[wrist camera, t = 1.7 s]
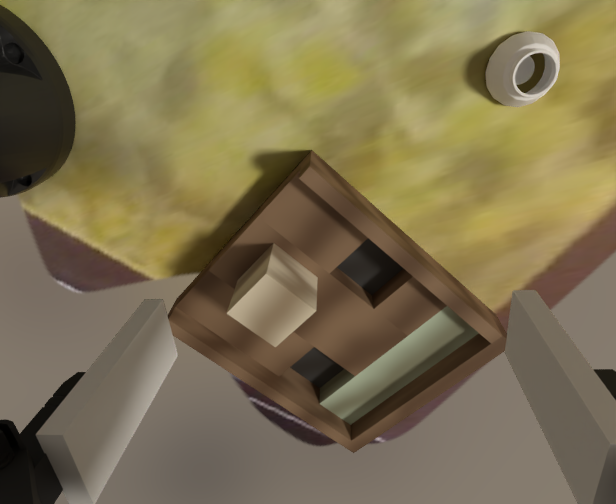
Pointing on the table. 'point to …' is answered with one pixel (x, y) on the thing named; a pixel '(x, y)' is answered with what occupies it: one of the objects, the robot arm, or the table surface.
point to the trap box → (342, 313)
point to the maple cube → (274, 296)
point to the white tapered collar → (521, 68)
